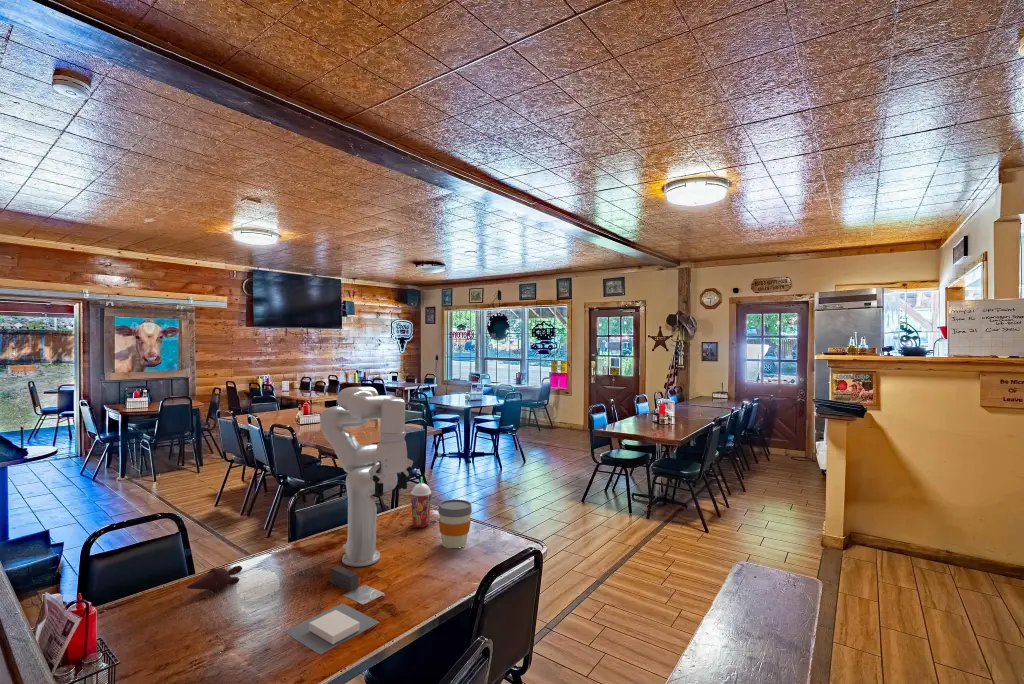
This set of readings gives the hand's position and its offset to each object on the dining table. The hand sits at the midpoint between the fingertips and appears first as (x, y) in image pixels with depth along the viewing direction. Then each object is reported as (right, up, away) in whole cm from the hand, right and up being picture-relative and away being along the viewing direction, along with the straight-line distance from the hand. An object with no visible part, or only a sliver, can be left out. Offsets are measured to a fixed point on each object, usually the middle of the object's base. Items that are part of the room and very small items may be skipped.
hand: (391, 491), depth 162 cm
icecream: (-51, -27, -9) cm, 58 cm away
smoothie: (0, -29, +50) cm, 57 cm away
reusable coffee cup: (+16, -29, +31) cm, 45 cm away
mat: (-9, -28, -27) cm, 40 cm away
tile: (-12, -26, -26) cm, 39 cm away
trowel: (-10, -28, -7) cm, 31 cm away
